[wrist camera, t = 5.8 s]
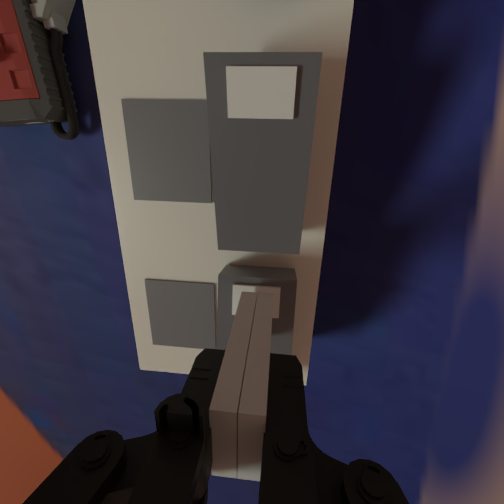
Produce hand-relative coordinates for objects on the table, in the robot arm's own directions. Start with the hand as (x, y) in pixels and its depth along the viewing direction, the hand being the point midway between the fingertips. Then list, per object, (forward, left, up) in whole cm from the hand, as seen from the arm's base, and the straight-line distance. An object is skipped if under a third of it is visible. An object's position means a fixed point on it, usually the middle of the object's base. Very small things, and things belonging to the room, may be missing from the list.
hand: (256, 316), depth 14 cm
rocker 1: (-7, 0, -2) cm, 8 cm away
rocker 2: (+3, 0, -2) cm, 3 cm away
